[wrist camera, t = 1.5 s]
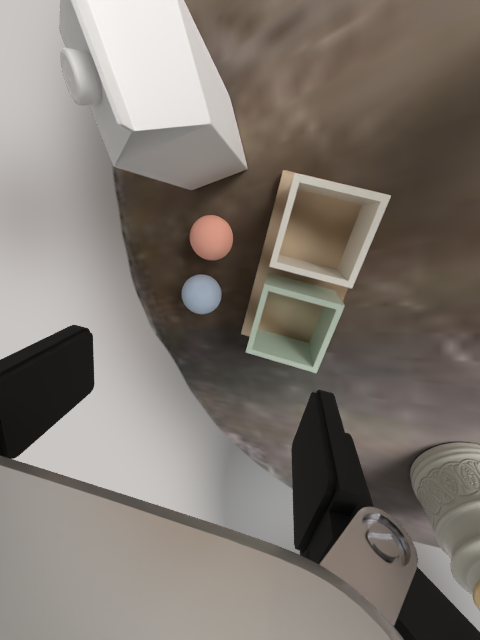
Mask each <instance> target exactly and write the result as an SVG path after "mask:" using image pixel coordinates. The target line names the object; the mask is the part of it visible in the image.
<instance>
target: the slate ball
mask: <svg viewBox="0 0 480 640" xmlns="http://www.w3.org/2000/svg"><path fill="white" fill-rule="evenodd" d="M221 295H222V293H221V288H220V286H219V284H218V283H217V281H216V280H215V279H213V278H212V277H210V276H208V275H202V274H201V275H195V276H193V277H191V278H189V279H188V280H187V281H186V282H185V284H184V286H183V288H182V300H183V302H184V304H185V306H186V307H187V308H188V309H189V310H190V311H192V312H194V313H197V314H207V313H210V312H212V311H213V310H215V309H216V308H217V306H218V305H219V303H220V301H221Z"/></svg>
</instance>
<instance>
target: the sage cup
mask: <svg viewBox="0 0 480 640" xmlns="http://www.w3.org/2000/svg"><path fill="white" fill-rule="evenodd" d="M268 291H270V292H274V293H277V294H281V295H285V296H288V297H292V298H296V299H299V300H303V301H307V302H310V303H314V304H318V305H321V306H323V308H322V310H321V313H320V316H319V318H318V321H317V323H316V326H315V329H314V331H313V334H312V336H311V339H310V342H309V343H307V342H303V341H300V340H296V339H293V338H289V337H286V336H282V335H279V334H275V333H272V332H268V331H265V330H261V329H258V326H259V323H260V319H261V316H262V312H263V309H264V305H265V302H266V298H267V295H268ZM344 307H345V305H344V304H343V302H342V301H341V299H340V298H339V296H338V295H337V293H336V292H335V290H332V289H328V288H324V287H320V286H317V285H313V284H309V283H305V282H302V281H298V280H294V279H291V278H287V277H283V276H279V275H276V274H272V273H268V275H267V278H266V281H265V284H264V287H263V291H262V294H261V298H260V302H259V305H258V309H257V312H256V316H255V320H254V323H253V327H252V331H251V334H250V338H249V342H248V345H247V349H246V353H249V354H253V355H256V356H259V357H263V358H266V359H270V360H273V361H277V362H280V363H283V364H287V365H290V366H294V367H297V368H300V369H304V370H307V371H311V372H314V373H317V371H318V368H319V366H320V364H321V361H322V359H323V356H324V354H325V352H326V349H327V347H328V345H329V342H330V340H331V337H332V335H333V333H334V330H335V328H336V326H337V323H338V321H339V318H340V316H341V314H342V311H343V309H344Z"/></svg>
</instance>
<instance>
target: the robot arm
mask: <svg viewBox="0 0 480 640" xmlns="http://www.w3.org/2000/svg"><path fill="white" fill-rule="evenodd" d="M93 362H94V361H93V335H92V333H90V331H89V329H88V328H84V327H80V326H77V325H72V326H70V327H67V328H65V329H63V330H61V331H59V332H57V333H55V334H53V335H51V336H49V337H47V338H45V339H42V340H40V341H38V342H36V343H34V344H32V345H30V346H28V347H26V348H24V349H22V350H20V351H18V352H16V353H14V354H12V355H9V356H7V357H5V358H3V359H1V360H0V640H480V632H479V631H478V630H477V629H476V628H475V627H474V626H473V625H472V624H471V623H470V622H469V621H468V619H467V618H466V617H465V616H464V615H463V614H462V613H461V612H460V611H459V610H458V609H457V608H456V607H455V606H454V605H453V604H452V603H451V602H450V601H449V600H448V599H447V598H446V597H445V595H444V594H443V593H442V592H441V591H440V590H439V589H438V588H437V587H436V586H435V585H434V584H433V583H432V582H431V581H430V580H429V579H428V578H427V577H426V576H425V575H424V574H423V572H422V571H421V570H420V569H418V567H417V563H418V558H417V552H416V548H415V546H414V544H413V542H412V540H411V538H410V536H409V535H408V533H407V532H406V531H405V529H404V528H403V527H402V526H401V525H400V524H399V523H398V521H397V520H396V519H394V518H393V517H392V516H390V515H389V514H388V513H386V512H384V511H382V510H380V509H378V508H374V507H373V503H372V500H371V497H370V494H369V490H368V487H367V484H366V481H365V478H364V474H363V471H362V468H361V465H360V461H359V458H358V455H357V452H356V449H355V445H354V442H353V439H352V437H351V435H350V434H348V433H345V432H344V428H343V425H342V421H341V417H340V414H339V410H338V407H337V403H336V400H335V396H334V394H333V393H329V392H325V391H322V390H318V391H317V393H315V392H312V393H311V396H310V398H309V401H308V404H307V406H306V409H305V411H304V414H303V417H302V419H301V422H300V425H299V427H298V430H297V433H296V435H295V438H294V440H293V444H292V479H293V515H294V545H295V549H297V550H300V555H299V554H296V553H294V552H291V551H289V550H286V549H284V548H281V547H279V546H277V545H273V544H271V543H268V542H266V541H263V540H260V539H257V538H254V537H251V536H248V535H245V534H242V533H240V532H237V531H234V530H231V529H228V528H225V527H222V526H219V525H216V524H213V523H210V522H207V521H204V520H201V519H198V518H195V517H191V516H188V515H185V514H182V513H179V512H176V511H173V510H170V509H167V508H164V507H161V506H158V505H154V504H151V503H148V502H145V501H142V500H139V499H136V498H133V497H129V496H126V495H123V494H120V493H117V492H114V491H110V490H108V489H104V488H101V487H98V486H95V485H92V484H89V483H86V482H82V481H79V480H76V479H73V478H70V477H67V476H64V475H60V474H57V473H54V472H51V471H48V470H45V469H41V468H38V467H35V466H32V465H28V464H25V463H22V462H18V461H16V460H12V458H16V457H17V456H19V455H20V454H21V453H22V452H23V451H24V450H25V449H27V448H28V447H29V446H30V445H31V444H32V443H34V442H35V441H36V440H37V439H38V438H39V437H40V436H42V435H43V434H44V433H45V432H46V431H47V430H48V429H49V428H51V427H52V426H53V425H54V424H55V423H56V422H58V420H60V419H61V418H62V417H63V416H64V415H65V414H67V413H68V412H69V411H70V410H71V409H72V408H74V407H75V406H76V405H77V404H78V403H79V402H80V401H82V400H83V399H84V398H85V397H86V396H87V395H88V394H90V392H91V391H92V390H93V388H94V363H93Z"/></svg>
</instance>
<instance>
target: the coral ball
mask: <svg viewBox="0 0 480 640" xmlns="http://www.w3.org/2000/svg"><path fill="white" fill-rule="evenodd" d="M190 243H191V246H192V248H193V250H194V251H195V252H196V254H197V255H199V256H200V257H201V258H203V259H206V260H218V259H221V258H223V257H224V256H226V255H227V254H228V252H229V251H230V249H231V247H232V244H233V233H232V230H231V228H230V226H229V224H228V223H227V222H226V221H225V220H224V219H222V218H220V217H218V216H215V215H207V216H203V217H201V218H199V219H198V220H197V221H196V222H195V223H194V224H193V226H192V228H191V231H190Z"/></svg>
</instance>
